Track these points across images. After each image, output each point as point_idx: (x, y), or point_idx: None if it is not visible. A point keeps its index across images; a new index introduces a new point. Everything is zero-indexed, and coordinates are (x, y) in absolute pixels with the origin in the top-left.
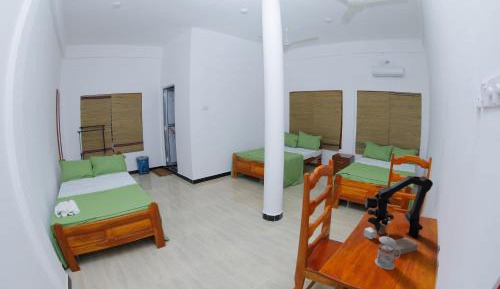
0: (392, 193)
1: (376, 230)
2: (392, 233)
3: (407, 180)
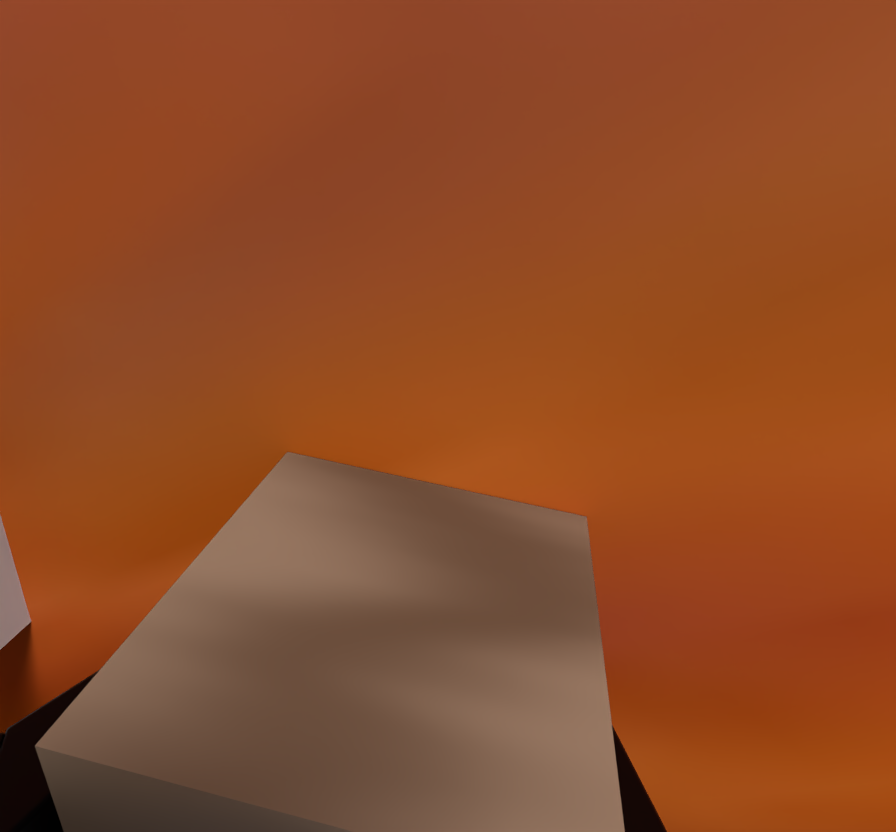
0: None
1: None
2: None
3: None
